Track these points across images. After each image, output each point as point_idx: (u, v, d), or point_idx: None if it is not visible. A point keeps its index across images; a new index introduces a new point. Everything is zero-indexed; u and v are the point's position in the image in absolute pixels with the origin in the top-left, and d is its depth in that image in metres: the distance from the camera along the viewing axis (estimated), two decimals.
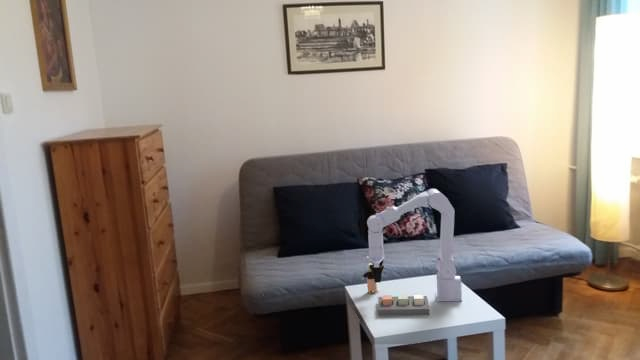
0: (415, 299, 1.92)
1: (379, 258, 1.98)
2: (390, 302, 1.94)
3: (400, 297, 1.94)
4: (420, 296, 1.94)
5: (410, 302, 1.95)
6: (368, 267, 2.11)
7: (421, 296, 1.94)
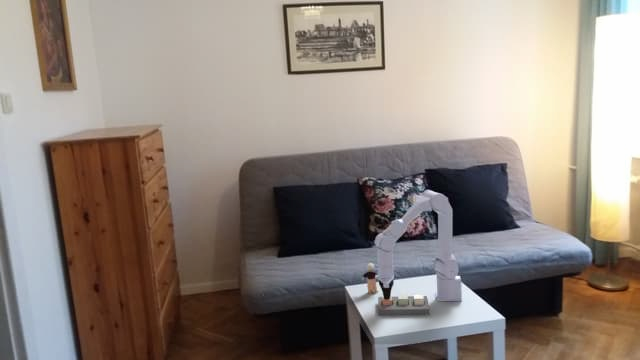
0: (415, 299, 1.92)
1: (389, 278, 1.91)
2: (390, 303, 1.94)
3: (400, 297, 1.94)
4: (420, 296, 1.94)
5: (410, 302, 1.95)
6: (368, 267, 2.11)
7: (421, 296, 1.94)
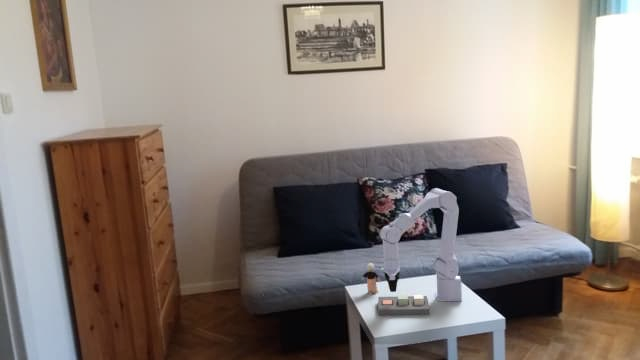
0: (415, 299, 1.92)
1: (394, 270, 1.90)
2: None
3: (400, 297, 1.94)
4: (420, 296, 1.94)
5: (410, 302, 1.95)
6: (368, 267, 2.11)
7: (421, 296, 1.94)
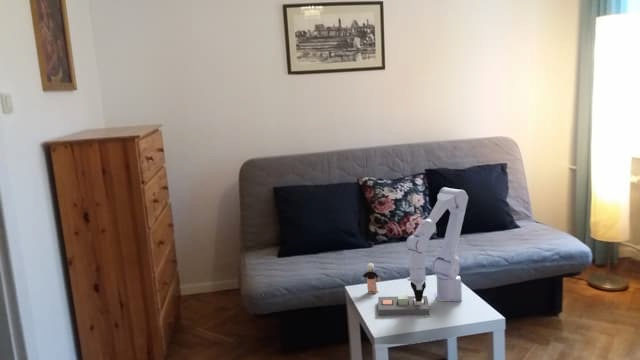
0: (415, 303, 1.93)
1: (421, 280, 1.90)
2: None
3: (400, 297, 1.94)
4: None
5: (410, 302, 1.95)
6: (368, 267, 2.11)
7: (422, 300, 1.94)
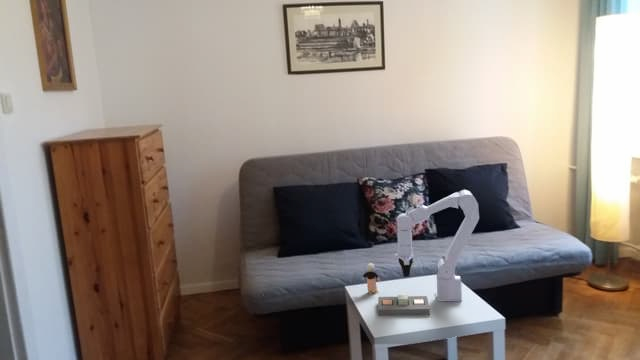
0: (415, 304, 1.93)
1: (408, 256, 2.00)
2: None
3: (400, 297, 1.94)
4: (420, 301, 1.94)
5: (410, 302, 1.95)
6: (368, 267, 2.11)
7: (422, 301, 1.94)
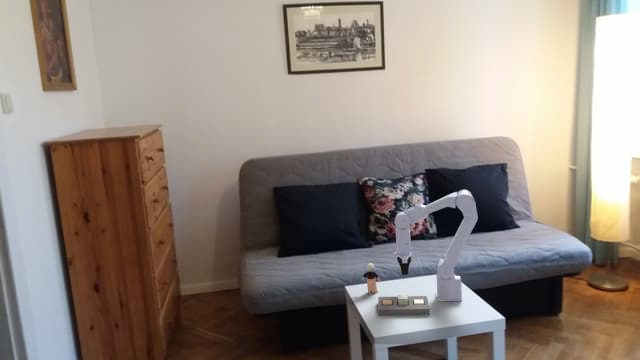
0: (415, 304, 1.93)
1: (407, 254, 2.01)
2: None
3: (400, 297, 1.94)
4: (420, 301, 1.94)
5: (410, 302, 1.95)
6: (368, 267, 2.11)
7: (422, 301, 1.94)
